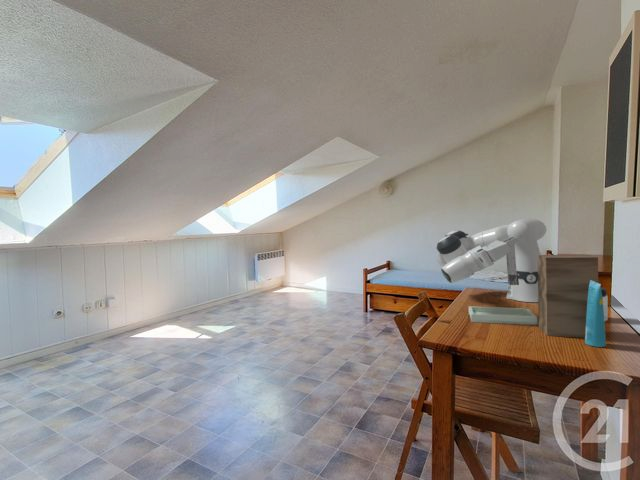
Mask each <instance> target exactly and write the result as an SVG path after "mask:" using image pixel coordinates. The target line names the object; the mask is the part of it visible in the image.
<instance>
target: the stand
mask: <svg viewBox="0 0 640 480" xmlns="http://www.w3.org/2000/svg"><path fill="white" fill-rule="evenodd" d="M590 280H592V281H594V282H596V283H599V256H593V255H589V254H541V255H538V302H537V305H538V306H537V307H538V308H537V309H538V310H537V311H538V314H537V315H538V316H537V319H538V328H539V329H540V330H541V331H542V332H543V334H545V335H546V336H549V337H550V336H551V337H564V338H565V337H566V338H579V339H580V338H581V339H585V332H586V314H587V300H588V290H589V284H590Z"/></svg>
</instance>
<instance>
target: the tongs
mask: <svg viewBox="0 0 640 480" xmlns="http://www.w3.org/2000/svg"><path fill="white" fill-rule="evenodd" d="M505 242H507V241H505ZM510 248H511V250H512V251H511V252H510V253H508V254H507V255H505V256H506V269H507V270H506V271H507V283H508V284H509V285H519V279H518V274H517V272H516V257H515V244H513V245H512V246H511V247H510ZM508 284H507V285H508Z"/></svg>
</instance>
